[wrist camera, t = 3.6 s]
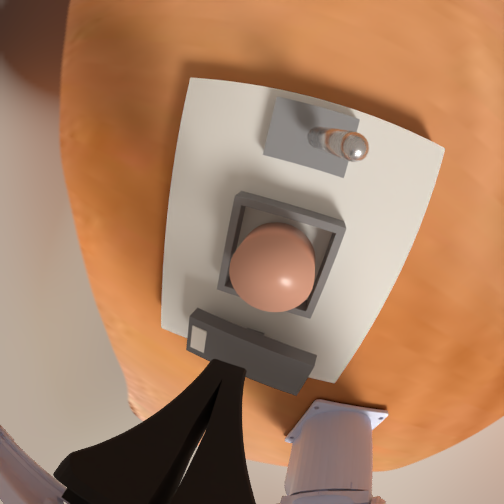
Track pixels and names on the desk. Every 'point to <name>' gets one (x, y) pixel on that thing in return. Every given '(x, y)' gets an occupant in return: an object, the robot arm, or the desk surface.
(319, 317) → the switch panel
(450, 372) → the desk surface
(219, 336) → the rocker switch
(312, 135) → the toggle lever
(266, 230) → the push button
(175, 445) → the robot arm
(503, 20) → the desk surface
